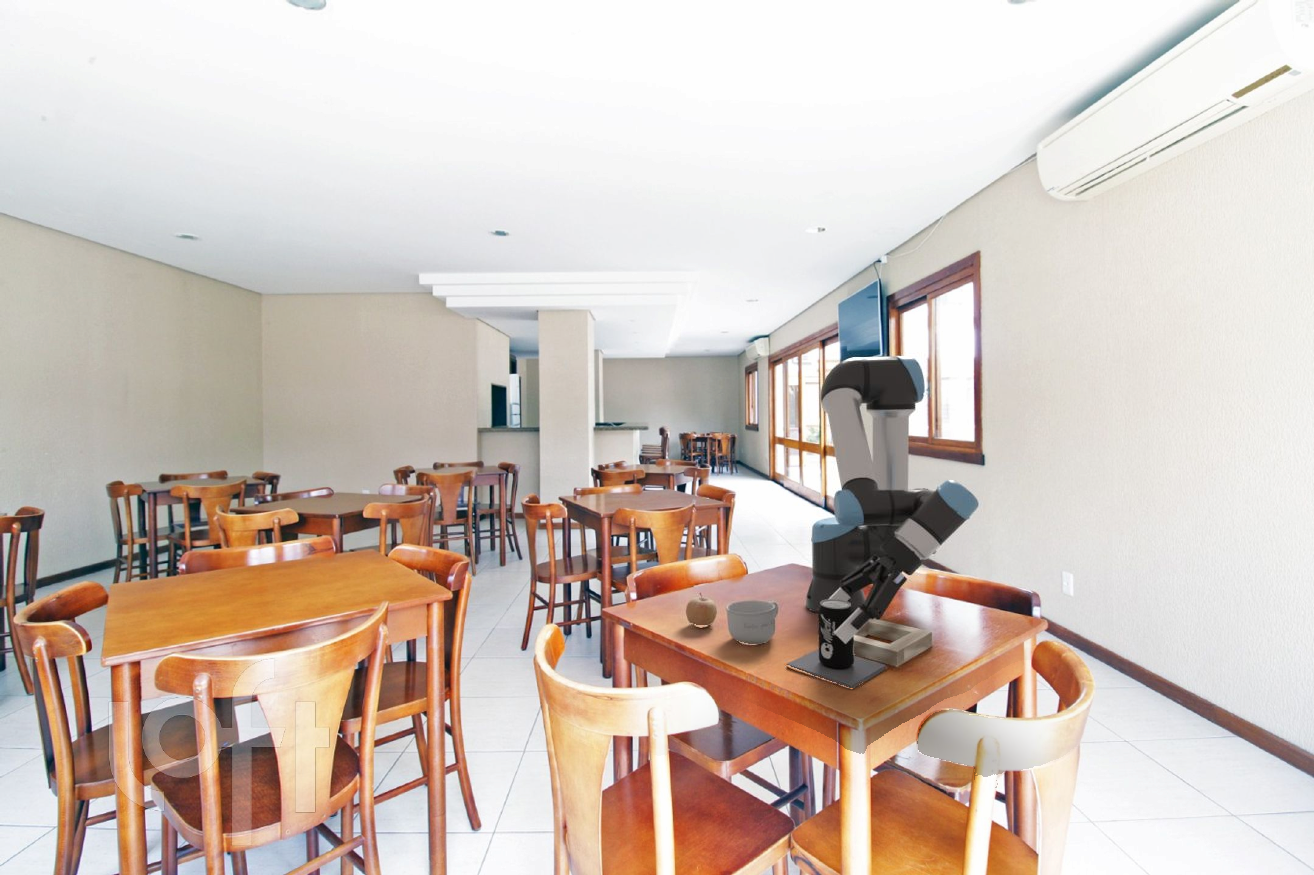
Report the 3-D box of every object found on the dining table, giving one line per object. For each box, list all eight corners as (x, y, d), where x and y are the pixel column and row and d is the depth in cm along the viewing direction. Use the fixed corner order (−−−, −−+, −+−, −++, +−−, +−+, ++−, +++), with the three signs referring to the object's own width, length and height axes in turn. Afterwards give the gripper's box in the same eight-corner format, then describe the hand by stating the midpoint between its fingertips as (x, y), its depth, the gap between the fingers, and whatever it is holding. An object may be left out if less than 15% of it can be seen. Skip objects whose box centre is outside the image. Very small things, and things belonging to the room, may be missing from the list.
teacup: (745, 653, 126) (745, 615, 126) (717, 637, 136) (716, 602, 135) (797, 641, 132) (796, 605, 132) (766, 627, 142) (766, 593, 142)
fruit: (681, 623, 146) (680, 591, 146) (708, 619, 149) (707, 587, 148) (694, 633, 139) (694, 599, 139) (722, 628, 141) (722, 595, 141)
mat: (786, 667, 118) (786, 663, 118) (822, 650, 127) (822, 646, 127) (851, 689, 108) (851, 685, 108) (886, 669, 116) (886, 664, 116)
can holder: (825, 646, 129) (824, 632, 129) (862, 628, 140) (862, 615, 140) (897, 666, 117) (897, 651, 117) (932, 645, 128) (932, 631, 128)
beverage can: (856, 671, 113) (855, 608, 113) (820, 669, 115) (819, 607, 114) (851, 658, 120) (851, 598, 120) (817, 656, 121) (817, 597, 121)
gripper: (950, 577, 103) (863, 664, 104) (899, 548, 128) (829, 618, 129) (918, 547, 103) (832, 634, 104) (873, 523, 128) (804, 594, 129)
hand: (830, 625), depth 117 cm, fingers open, 13 cm apart
